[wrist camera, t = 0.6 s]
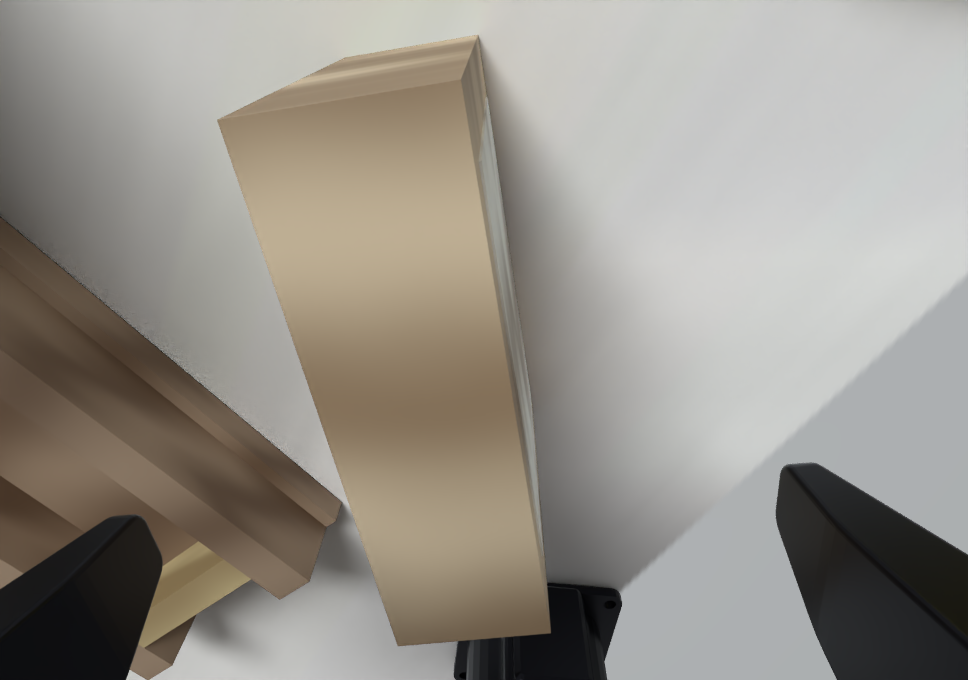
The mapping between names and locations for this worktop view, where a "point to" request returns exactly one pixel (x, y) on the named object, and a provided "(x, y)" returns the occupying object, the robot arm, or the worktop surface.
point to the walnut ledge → (136, 456)
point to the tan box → (407, 326)
